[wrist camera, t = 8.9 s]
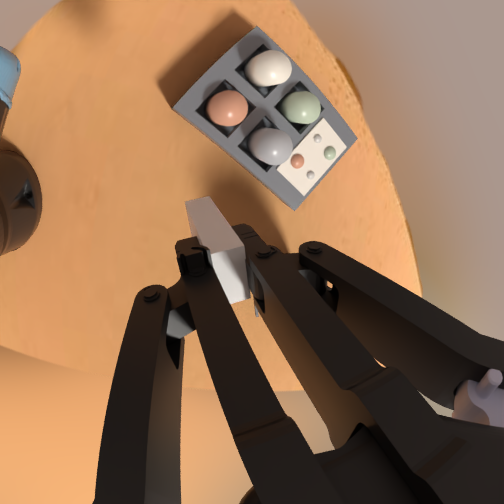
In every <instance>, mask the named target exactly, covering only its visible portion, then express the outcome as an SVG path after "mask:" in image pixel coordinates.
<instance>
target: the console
mask: <svg viewBox="0 0 504 504" xmlns="http://www.w3.org/2000/svg"><path fill="white" fill-rule="evenodd" d="M268 50H276V51H279V52H282V53H283V54H285V55H286V56H287V57H288V59H289V60H290V63H291V66H292V71H291V75H290V77H289V78H288V79H287V80H286V81H285V82H283V83H281V84H277V85H271V86H266V87H256V86H254V85H252V84H250V83H249V82H248V81H247V79H246V78H245V75H244V67H245V64H246V63H247V61H248V60H250V59H251V58H253V57H255V56H257V55H259V54H261V53H263V52H265V51H268ZM227 90H232V91H236V92H238V93H240V94H241V95H243V97H244V98H245V99H246V101H247V105H248V111H247V115H246V117H245V118H244V120H243V121H242V122H240V123H239V124H237V125H234V126H223V125H217V124H214V123H212V122H210V121H209V120H208V119H207V117H206V115H205V112H204V107H205V103H206V101H207V100H208V99H209V98H210V97H211V96H212V95H214V94H217V93H220V92H223V91H227ZM302 91H307V92H311V93H312V94H314V95H315V96H316V97H317V98H318V100H319V102H320V106H321V111H320V115H319V117H318V118H317V119H316V120H315V121H314V122H312V123H310V124H302V123H295V122H288V121H287V120H286V119H285V118H284V117H283V116H282V115H281V114H280V113H279V112H278V111H277V110H276V104H277V103H278V102H279V101H280V100H281V99H282V98H283V97H284V96H285V95H286V94H287V93H289V92H302ZM171 109H172V110H173V111H175V112H176V113H177V114H178V115H180V116H181V117H182V118H184V119H185V120H186V121H187V122H189V123H190V124H191V125H192V126H194V127H195V128H196V129H198V130H199V131H200V132H201V133H203V134H204V135H205V136H206V137H207V138H209V139H210V140H211V141H212V142H214V143H215V144H216V145H217V146H218V147H220V148H221V149H222V150H223V151H225V152H226V153H227V154H228V155H229V156H230V157H232V158H233V159H234V160H235V161H236V162H238V163H239V164H240V165H241V166H242V167H243V168H245V169H246V170H247V171H248V172H249V173H250V174H252V175H253V176H254V177H255V178H256V179H257V180H258V181H260V182H261V183H262V184H263V185H264V186H265V187H266V188H268V189H269V190H270V191H271V192H272V193H273V194H274V195H275V196H277V197H278V198H279V199H280V200H281V201H282V202H283V203H285V204H286V205H287V206H289V207H290V208H291V209H293V210H294V211H295V210H296V209H297V208H298V207H299V206H300V204H301V203H302V202H303V201H304V200H305V199H306V198H307V196H308V195H309V194H310V193H311V192H312V191H313V190H314V188H315V187H316V186H317V185H318V184H319V183H320V181H321V180H322V179H323V178H324V177H325V176H326V175H327V173H328V172H329V171H330V170H331V169H332V168H333V167H334V165H335V164H336V163H337V162H338V161H339V160H340V158H341V157H342V156H343V155H344V154H345V153H346V152H347V150H348V149H349V148H350V147H351V146H352V145H353V143H354V142H355V141H356V140H357V139H358V138H357V137H356V136H355V134H354V133H353V131H352V130H351V129H350V127H349V126H348V125H347V123H346V122H345V121H344V119H343V118H342V117H341V116H340V114H339V113H338V112H337V110H336V109H335V108H334V107H333V105H332V104H331V103H330V102H329V101H328V99H327V98H326V97H325V96H324V95H323V93H322V92H321V91H320V90H319V89H318V88H317V86H316V85H315V84H314V83H313V82H312V81H311V80H310V78H309V77H308V76H307V75H306V74H305V73H304V72H303V71H302V70H301V69H300V68H299V66H298V65H297V64H296V63H295V62H294V61H293V60H292V59H291V58H290V57H289V56H288V55H287V54H286V53H285V52H284V51H283V50H282V49H281V48H280V47H279V46H278V45H277V44H276V43H275V42H274V41H273V40H272V39H271V38H270V37H268V36H267V35H266V34H265V33H264V32H263V31H262V30H261V29H260V28H259V27H257V26H256V27H255V28H254V29H252V30H251V31H250V32H249V33H247V34H246V35H245V36H244V37H242V38H241V39H240V40H239V41H238V42H237V43H236V44H234V45H233V46H232V47H231V48H230V49H229V50H228V51H227V52H226V53H224V54H223V55H222V56H221V57H220V58H219V59H218V60H217V61H216V62H215V63H214V64H213V65H212V66H211V67H210V68H209V69H208V70H207V71H206V72H205V73H204V74H203V75H202V76H201V77H200V78H199V79H198V80H197V81H196V82H195V83H194V84H193V85H192V86H191V87H190V88H189V89H188V91H187V92H186V93H185V94H184V95H183V96H182V97H181V98H180V99H179V100H178V102H177V103H176V104H175V105H174V106H173V107H172V108H171ZM259 127H266V128H272V129H278V130H282V131H284V132H286V133H287V134H288V135H289V136H290V138H291V140H292V144H293V150H292V154H291V156H290V157H289V159H288V160H287V161H286V162H284V163H283V164H280V165H270V164H267V163H265V162H263V161H261V160H259V159H257V158H255V157H253V156H252V155H251V154H250V153H249V151H248V149H247V138H248V136H249V134H250V133H251V132H252V131H253V130H254V129H256V128H259Z"/></svg>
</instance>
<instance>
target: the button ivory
mask: <svg viewBox="0 0 504 504" xmlns="http://www.w3.org/2000/svg"><path fill="white" fill-rule="evenodd" d="M291 71H292V66H291V63H290V60H289V59H288V57H287V56H286V55H285V54H283V53H282V52H279V51H276V50H268V51H265V52H263V53H261V54H259V55H257V56H255V57H253V58H251V59H250V60H248V61H247V63H246V64H245V67H244V75H245V78H246V79H247V81H248V82H249V83H250V84H252V85H254V86H256V87H266V86H271V85H277V84H281V83H283V82H285V81H286V80H287V79H288V78H289V77H290V75H291Z"/></svg>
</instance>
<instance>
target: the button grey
mask: <svg viewBox="0 0 504 504" xmlns="http://www.w3.org/2000/svg"><path fill="white" fill-rule="evenodd" d="M247 149H248V151H249V153H250V154H251V155H252V156H253V157H255V158H257V159H259V160H261V161H263V162H265V163H267V164H270V165H280V164H283V163H284V162H286V161H287V160H288V159H289V157H290V156H291V154H292V150H293V144H292V140H291V138H290V136H289V135H288V134H287V133H286V132H284V131H282V130H278V129H272V128H266V127H259V128H256V129H254V130H253V131H252V132H251V133H250V134H249V136H248V138H247Z"/></svg>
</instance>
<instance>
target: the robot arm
mask: <svg viewBox="0 0 504 504" xmlns="http://www.w3.org/2000/svg"><path fill="white" fill-rule="evenodd" d="M20 73H21V65H20V61H19V60H18V58H17V57H16V56H15V55H14V54H13V53H11V52H10V51H8V50H7V49H5V48H3V47H1V46H0V140H1V136H2V132H3V128H4V125H5V121H6V118H7V115H8V112H9V109H11V107H12V102H11V101H12V98H13V94H14V91H15V88H16V85H17V82H18V80H19V77H20ZM185 205H186V210H187V215H188V220H189V225H190V229H191V234H192V237H190V238H187V239H183V240H179V241H177V243H176V245H175V250H176V254H177V262H178V265H179V269H180V273H181V277H180V280H179V281H178V282H177V283H176V284H175V285H173V286H172V287H170V288H168V289H166V288H165V287H164V286H162V285H151V286H147V287H145V288H143V289H142V290H141V291H139V292H138V294H137V295H136V297H135V300H134V303H133V307H132V310H131V313H130V316H129V320H128V323H127V327H126V330H125V334H124V337H123V341H122V345H121V349H120V352H119V356H118V360H117V364H116V368H115V373H114V377H113V381H112V386H111V391H110V395H109V400H108V405H107V410H106V416H105V421H104V427H103V433H102V439H101V446H100V452H99V461H98V469H97V478H96V489H95V499H94V501H93V503H92V504H181V481H180V428H181V424H180V423H181V396H182V375H183V358H184V344H185V339H184V336H185V335H187V334H189V333H191V332H192V331H194V330H197V334H198V337H199V340H200V344H201V347H202V350H203V353H204V356H205V359H206V363H207V366H208V369H209V372H210V375H211V378H212V381H213V384H214V386H215V389H216V392H217V395H218V398H219V401H220V403H221V406H222V409H223V412H224V414H225V417H226V420H227V422H228V425H229V427H230V430H231V433H232V435H233V439H234V441H235V444H236V446H237V449H238V452H239V454H240V456H241V459H242V461H243V463H244V466H245V468H246V470H247V473H248V475H249V477H250V480H251V482H252V484H253V487H252V488H251V489H250V490H249V491H248V492H247V493H246V494H245V496H244V497H243V498H242V499H241V501H240V503H239V504H504V341H501V340H497V339H494V338H491V337H488V336H485V335H481V334H479V333H478V332H476V331H475V330H473V329H471V328H470V327H468V326H467V325H465V324H463V323H462V322H460V321H459V320H457V319H455V318H453V317H452V316H451V315H449V314H447V313H446V312H444V311H442V310H441V309H439V308H437V307H436V306H434V305H432V304H431V303H429V302H428V301H426V300H424V299H423V298H421V297H419V296H418V295H416V294H414V293H412V292H411V291H409V290H407V289H406V288H404V287H402V286H400V285H399V284H397V283H395V282H394V281H392V280H390V279H388V278H387V277H385V276H383V275H381V274H379V273H378V272H376V271H374V270H372V269H371V268H369V267H367V266H365V265H363V264H362V263H360V262H358V261H356V260H354V259H352V258H351V257H349V256H347V255H345V254H343V253H341V252H340V251H338V250H336V249H334V248H332V247H330V246H328V245H327V244H324V243H322V242H317V241H309V242H306V243H303V244H302V245H300V247H299V253H290V254H283V253H282V252H281V251H280V250H279V249H278V248H276V247H274V246H271V245H266V244H265V242H264V241H263V240H262V239H261V238H260V237H259V235H258V234H257V233H256V232H255V231H254V230H253V228H252V227H251V226H248V225H246V224H240V225H236V226H230V225H229V223H228V222H227V220H226V219H225V218H224V216H223V215H222V213H221V212H220V210H219V209H218V208H217V206H216V205H215V203H214V202H213V201H212V199H211V198H210V196H207V197H203V198H199V199H194V200H190V201H186V202H185ZM41 212H42V193H41V188H40V184H39V181H38V178H37V176H36V174H35V172H34V170H33V168H32V167H31V165H30V164H29V163H28V162H27V161H26V160H25V159H24V158H23V157H22V156H20V155H19V154H17V153H15V152H12V151H7V150H2V151H0V256H1V255H4V254H6V253H8V252H11V251H14V250H16V249H18V248H20V247H21V246H22V245H24V244H25V243H26V242H27V241H28V239H29V238H30V237H31V236H32V234H33V233H34V231H35V230H36V228H37V226H38V223H39V220H40V217H41ZM327 281H329V282H330V283H332V284H333V287H332V288H330V287H328V286H327ZM250 290H251V292H252V294H253V298H254V306H255V314H256V317H259V316H258V312H259V313H260V315H261V317H262V318H263V320H264V322H265V324H266V325H267V327H268V329H269V331H270V332H271V334H272V336H273V337H274V339H275V341H276V343H277V344H278V346H279V348H280V349H281V351H282V353H283V355H284V356H285V358H286V360H287V361H288V363H289V365H290V366H291V368H292V370H293V371H294V373H295V375H296V376H297V378H298V380H299V381H300V383H301V385H302V386H303V388H304V390H305V391H306V393H307V395H308V396H309V398H310V399H311V401H312V403H313V404H314V406H315V408H316V410H317V411H318V413H319V414H320V416H321V418H322V419H323V421H324V423H325V424H326V426H327V428H328V431H329V435H330V440H331V442H332V444H333V446H334V448H335V450H331V451H327V452H323V453H318V454H313V452H312V450H311V449H310V447H309V445H308V443H307V442H306V440H305V438H304V437H303V435H302V433H301V431H300V429H299V428H298V426H297V424H296V423H295V421H294V420H293V419H292V418H291V417H289V416H287V415H286V414H285V412H284V410H283V409H282V407H281V405H280V403H279V401H278V399H277V397H276V395H275V393H274V391H273V390H272V388H271V386H270V384H269V382H268V380H267V378H266V376H265V374H264V372H263V370H262V368H261V366H260V364H259V362H258V360H257V358H256V356H255V354H254V352H253V350H252V348H251V346H250V344H249V342H248V340H247V338H246V336H245V334H244V332H243V330H242V328H241V326H240V324H239V321H238V319H237V317H236V315H235V313H234V311H233V309H232V307H231V305H230V304H232V303H236V302H239V301H242V300H246V299H249V298H251V296H250ZM374 358H375V359H376V360H377V361H379V362H380V363H381V364H383V365H384V366H385V368H384V367H382V366H380V365H379V364H378V363H377V361H376V360H375V359H374ZM417 390H418V391H419V392H421V393H422V394H423V395H424V396H426V397H427V398H429V399H431V400H432V401H434V402H436V403H438V404H440V405H442V406H444V407H446V408H449V409H452V410H454V411H453V413H452V418H451V417H446V416H442V415H438V414H437V413H436V412H435V411H434V410H433V408H432V407H431V406H430V405H429V404H428V403H427V401H426V400H425V399H424V398H423V396H422V395H421V394H420V393H419V392H418V391H417Z"/></svg>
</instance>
